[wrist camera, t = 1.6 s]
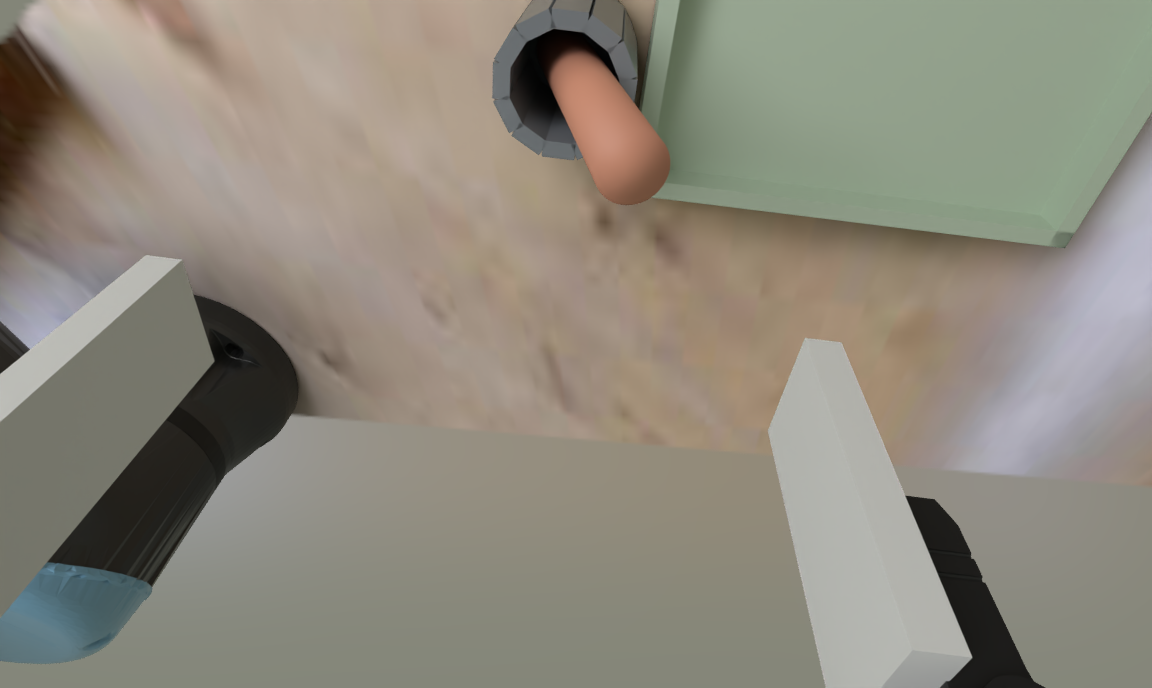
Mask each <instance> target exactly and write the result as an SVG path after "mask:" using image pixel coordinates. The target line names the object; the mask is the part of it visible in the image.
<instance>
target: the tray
mask: <svg viewBox="0 0 1152 688" xmlns="http://www.w3.org/2000/svg"><path fill="white" fill-rule="evenodd" d="M639 110H640V111H641V113H642V114H643V115H644V117H645V118H646V119H647V121H648V122H649V123H650V125H651V126H652V127H653V129H654V130H655V131H656V133H657V134H658V136H659V137H660V138H661V140H662V141H663V142H664V144H665V145H666V147H667V149H668V151H669V155H670V171H669V175H668V177H667V180H666V181H665V183H664V185H663V186H662V188H661V189H660V190H659V191H658V192H657V193H656V194H655V195H654V196H652V198H660V199H668V200H676V201H684V202H693V203H701V204H709V205H717V206H725V207H733V208H741V209H750V210H758V211H766V212H774V213H782V214H790V215H798V216H807V217H815V218H823V219H831V220H839V221H847V222H855V223H864V224H872V225H880V226H888V227H896V228H904V229H912V230H921V231H929V232H937V233H945V234H953V235H961V236H969V237H977V238H986V239H994V240H1002V241H1010V242H1018V243H1026V244H1034V245H1043V246H1051V247H1059V248H1065V247H1066V246H1067V244H1068V243H1069V241H1070V239H1071V238H1072V236H1073V235H1074V233H1075V232H1076V230H1077V228H1078V227H1079V225H1080V224H1081V222H1082V221H1083V219H1084V217H1085V216H1086V214H1087V213H1088V211H1089V210H1090V208H1091V206H1092V205H1093V203H1094V202H1095V200H1096V199H1097V197H1098V196H1099V194H1100V192H1101V191H1102V189H1103V188H1104V186H1105V185H1106V183H1107V181H1108V180H1109V178H1110V177H1111V175H1112V174H1113V172H1114V170H1115V169H1116V167H1117V166H1118V164H1119V163H1120V161H1121V160H1122V158H1123V156H1124V155H1125V153H1126V152H1127V150H1128V149H1129V147H1130V145H1131V144H1132V142H1133V141H1134V139H1135V138H1136V136H1137V134H1138V133H1139V131H1140V130H1141V128H1142V127H1143V125H1144V124H1145V122H1146V120H1147V119H1148V117H1149V116H1150V114H1151V113H1152V0H656V4H655V10H654V17H653V23H652V29H651V36H650V42H649V49H648V55H647V61H646V68H645V74H644V81H643V87H642V94H641V100H640V106H639Z"/></svg>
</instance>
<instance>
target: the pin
mask: <svg viewBox="0 0 1152 688" xmlns="http://www.w3.org/2000/svg"><path fill="white" fill-rule="evenodd" d="M536 54H537V59H538V62H539V64H540V66H541V68H542V70H543V72H544V75H545V77H546V79H547V81H548V83H549V85H550V87H551V90H552V92H553V94H554V96H555V98H556V100H557V102H558V105H559V107H560V109H561V111H562V113H563V115H564V117H565V119H566V122H567V124H568V126H569V128H570V130H571V132H572V134H573V137H574V139H575V141H576V143H577V145H578V147H579V149H580V152H581V154H582V156H583V158H584V160H585V162H586V164H587V166H588V169H589V171H590V173H591V175H592V177H593V179H594V181H595V184H596V186H597V188H598V189H599V191H600V192H601V194H602V195H603V196H604V197H605V198H607V199H608V200H610V201H612V202H614V203H617V204H621V205H633V204H638V203H641V202H644V201H646V200H648V199H649V198H651V197H652V196H654V195H655V194H656V193H657V192H658V191H659V190H660V189H661V188H662V186H663V185H664V183H665V181H666V180H667V177H668V175H669V171H670V155H669V151H668V149H667V147H666V145H665V144H664V142H663V141H662V140H661V138H660V137H659V136H658V134H657V133H656V131H655V130H654V129H653V127H652V126H651V125H650V123H649V122H648V121H647V119H646V118H645V117H644V115H643V114H642V113H641V111H640V110H639V109H638V107H637V106H636V105H635V103H634V102H633V101H632V99H631V98H630V97H629V95H628V94H627V93H626V91H625V90H624V89H623V87H622V86H621V85H620V83H619V82H618V81H617V79H616V78H615V77H614V75H613V74H612V73H611V71H610V70H609V69H608V67H607V66H606V65H605V63H604V62H603V61H602V59H601V58H600V57H599V55H598V54H597V53H596V51H595V50H594V49H593V47H592V46H591V45H590V43H589V42H588V41H587V39H586V38H585V37H584V35H583V34H582V33H581V32H576V31H568V30H560V29H552V30H550V31H548V32H546V33H544V34H542V35H540V37H539V39H538V42H537V47H536Z"/></svg>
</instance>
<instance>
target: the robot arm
mask: <svg viewBox="0 0 1152 688" xmlns="http://www.w3.org/2000/svg"><path fill="white" fill-rule="evenodd" d="M297 399H298V384H297V379H296V375H295V372H294V370H293V367H292V365H291V363H290V361H289V360H288V358H287V356H286V355H285V353H284V352H283V351H282V349H281V348H280V347H279V345H278V344H277V343H276V342H275V341H274V340H273V339H272V338H271V337H270V336H269V335H268V334H267V333H266V332H265V331H264V330H263V329H261V328H260V327H259V326H258V325H256V324H255V323H254V322H252V321H251V320H250V319H248V318H247V317H245V316H243V315H242V314H240V313H238V312H237V311H235V310H233V309H231V308H229V307H227V306H225V305H223V304H220V303H218V302H215V301H213V300H210V299H207V298H204V297H200V296H196V295H193V292H192V289H191V286H190V283H189V279H188V276H187V273H186V270H185V267H184V264H183V261H182V260H180V259H172V258H165V257H157V256H149V255H145V256H144V257H143V258H142V259H141V260H139V261H138V262H137V263H136V264H134V265H133V266H132V267H131V268H130V269H128V270H127V271H126V272H125V273H123V274H122V275H121V276H120V277H119V278H117V279H116V280H115V281H114V282H112V283H111V284H110V285H109V286H107V287H106V288H105V289H104V290H103V291H101V292H100V293H99V294H98V295H96V296H95V297H94V298H93V299H92V300H90V301H89V302H88V303H87V304H85V305H84V306H83V307H82V308H81V309H79V310H78V311H77V312H76V313H74V314H73V315H72V316H71V317H70V318H68V319H67V320H66V321H65V322H63V323H62V324H61V325H60V326H58V327H57V328H56V329H55V330H54V331H52V332H51V333H50V334H49V335H47V336H46V337H45V338H44V339H43V340H41V341H40V342H39V343H38V344H36V345H35V346H34V347H33V348H32V349H29V348H28V347H27V346H26V345H25V344H24V343H23V342H22V341H21V340H20V339H18V338H17V337H16V336H15V335H14V334H13V333H12V332H11V331H10V330H9V329H8V328H7V327H6V326H5V325H4V324H3V323H1V322H0V661H6V662H15V663H33V664H49V663H63V662H69V661H74V660H78V659H81V658H85V657H87V656H90V655H92V654H94V653H96V652H98V651H99V650H101V649H103V648H104V647H105V646H107V645H108V644H109V643H110V642H111V641H112V640H113V639H114V638H115V637H116V636H117V634H118V633H119V632H120V631H121V629H122V628H123V627H124V625H125V624H126V623H127V621H128V620H129V619H130V618H131V616H132V615H133V614H134V613H135V611H136V610H137V609H138V607H139V606H140V605H141V603H142V602H143V601H144V600H146V599H147V598H148V597H149V596H150V594H151V592H152V587H153V585H154V584H155V582H156V580H157V579H158V577H159V576H160V574H161V573H162V571H163V569H164V568H165V567H166V565H167V564H168V562H169V560H170V559H171V557H172V556H173V554H174V553H175V551H176V550H177V548H178V546H179V545H180V543H181V542H182V540H183V539H184V537H185V536H186V534H187V533H188V531H189V529H190V528H191V526H192V525H193V523H194V522H195V520H196V519H197V517H198V516H199V514H200V513H201V511H202V510H203V508H204V507H205V505H206V503H207V502H208V500H209V499H210V497H211V496H212V494H213V493H214V491H215V490H216V488H217V486H218V485H219V483H220V482H221V480H222V479H223V478H224V476H225V475H226V474H227V473H228V472H229V471H230V470H232V469H233V468H234V467H236V466H237V465H238V464H239V463H241V462H242V461H243V460H244V459H246V458H247V457H248V456H249V455H251V454H252V453H253V452H254V451H255V450H256V449H258V448H259V447H261V446H263V445H264V444H266V443H267V442H269V441H270V440H272V439H273V438H274V437H275V436H276V435H277V434H278V433H279V432H280V431H281V429H282V428H283V427H284V425H285V423H286V422H287V420H288V419H289V417H290V415H291V414H292V412H293V410H294V408H295V406H296V403H297ZM768 433H769V437H770V442H771V446H772V451H773V455H774V460H775V464H776V469H777V473H778V477H779V481H780V486H781V491H782V495H783V500H784V504H785V509H786V513H787V517H788V522H789V526H790V531H791V535H792V540H793V544H794V548H795V553H796V557H797V562H798V566H799V571H800V575H801V579H802V584H803V589H804V593H805V597H806V602H807V606H808V611H809V615H810V620H811V624H812V629H813V633H814V637H815V642H816V646H817V651H818V655H819V660H820V663H821V669H822V673H823V677H824V682H825V686H826V688H1045V687H1043V686H1041V685H1039V684H1037V683H1036V682H1034V681H1033V679H1032V678H1031V676H1030V674H1029V672H1028V671H1027V669H1026V667H1025V665H1024V663H1023V661H1022V659H1021V657H1020V654H1019V652H1018V650H1017V648H1016V646H1015V644H1014V642H1013V640H1012V638H1011V636H1010V633H1009V631H1008V629H1007V627H1006V625H1005V623H1004V621H1003V619H1002V617H1001V615H1000V613H999V610H998V608H997V606H996V604H995V602H994V600H993V598H992V596H991V594H990V591H989V589H988V587H987V585H986V584H985V583H983V582H982V575H981V573H980V570H979V568H978V566H977V564H976V562H975V560H974V559H971V552H970V549H969V548H968V545H967V543H966V541H965V539H964V537H963V535H962V533H961V531H960V528H959V526H958V525H957V524H956V523H955V522H954V520H953V519H952V518H951V517H950V516H949V515H948V514H947V513H946V511H945V510H944V509H943V508H942V507H941V506H940V505H939V504H938V503H937V502H936V501H935V499H927V498H919V497H911V496H905V494H904V492H903V489H902V487H901V485H900V482H899V480H898V478H897V475H896V473H895V470H894V468H893V465H892V463H891V461H890V458H889V456H888V453H887V451H886V449H885V446H884V444H883V441H882V439H881V437H880V434H879V432H878V429H877V427H876V425H875V422H874V420H873V417H872V415H871V412H870V410H869V408H868V405H867V403H866V400H865V398H864V396H863V393H862V391H861V388H860V386H859V384H858V381H857V379H856V376H855V374H854V372H853V369H852V367H851V364H850V362H849V360H848V357H847V355H846V352H845V350H844V348H843V345H842V343H841V342H833V341H825V340H817V339H809V338H805V339H804V342H803V344H802V347H801V349H800V352H799V354H798V357H797V359H796V362H795V364H794V367H793V369H792V372H791V374H790V377H789V379H788V382H787V384H786V387H785V389H784V392H783V394H782V397H781V399H780V402H779V404H778V407H777V409H776V412H775V414H774V417H773V419H772V422H771V425H770V427H769V430H768Z"/></svg>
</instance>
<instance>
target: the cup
mask: <svg viewBox="0 0 1152 688" xmlns="http://www.w3.org/2000/svg"><path fill="white" fill-rule="evenodd" d="M552 29H560V30H568V31H576V32H581V33H582V34H583V35H584V37H585V38H586V39H587V41H588V42H589V43H590V45H591V46H592V47H593V49H594V50H595V51H596V53H597V54H598V55H599V57H600V58H601V59H602V61H603V62H604V63H605V65H606V66H607V67H608V69H609V70H610V71H611V73H612V74H613V75H614V77H615V78H616V79H617V81H618V82H619V83H620V85H621V86H622V87H623V89H624V90H625V91H626V93H627V94H628V95H629V97H630V98H631V99H632V101H633V102H634V101H635V94H636V87H637V81H638V74H637V38H636V36H635V33H634V29H633V26H632V22H631V20H630V18H629V15H628V13H627V11H626V9H625V8H624V6H623V5H622V4H621V3H620V2H619V0H532V1H531V3H530V4H529V5H528V7H527V8H526V10H525V11H524V12H523V14H522V15H521V17H520V18H519V20H518V21H517V22H516V24H515V25H514V27H513V28H512V30H511V31H510V33H509V35H508V36H507V38H506V40H505V41H504V43H503V45H502V46H501V48H500V50H499V51H498V53H497V55H496V56H495V58H494V59H495V60H494V62H493V95H492V98H494V99H495V100H494V101H493V102H494V104H495V106H496V108H497V110H498V112H499V114H500V116H501V118H502V120H503V122H504V124H505V126H506V128H507V130H508V132H509V133H510V132H513V133H512V136H513V137H514V138H515V139H517V140H518V141H520V142H521V143H522V144H524V145H525V146H527V147H528V148H529V149H531V150H532V151H534V152H535V153H536V154H538V155H539V154H540V153H541V151H542V156H543V157H551V158H559V159H567V160H574V159H575V156H576V158H577V160H578V159H581V158H583V156H582V154H581V152H580V149H579V147H578V145H577V143H576V141H575V139H574V137H573V134H572V132H571V130H570V128H569V126H568V124H567V122H566V119H565V117H564V115H563V113H562V111H561V109H560V107H559V105H558V102H557V100H556V98H555V96H554V94H553V92H552V90H551V87H550V85H549V83H548V81H547V79H546V77H545V75H544V72H543V70H542V68H541V66H540V64H539V62H538V59H537V54H536V47H537V42H538V39H539V37H540V35H542V34H544V33H546V32H548V31H550V30H552Z"/></svg>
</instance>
